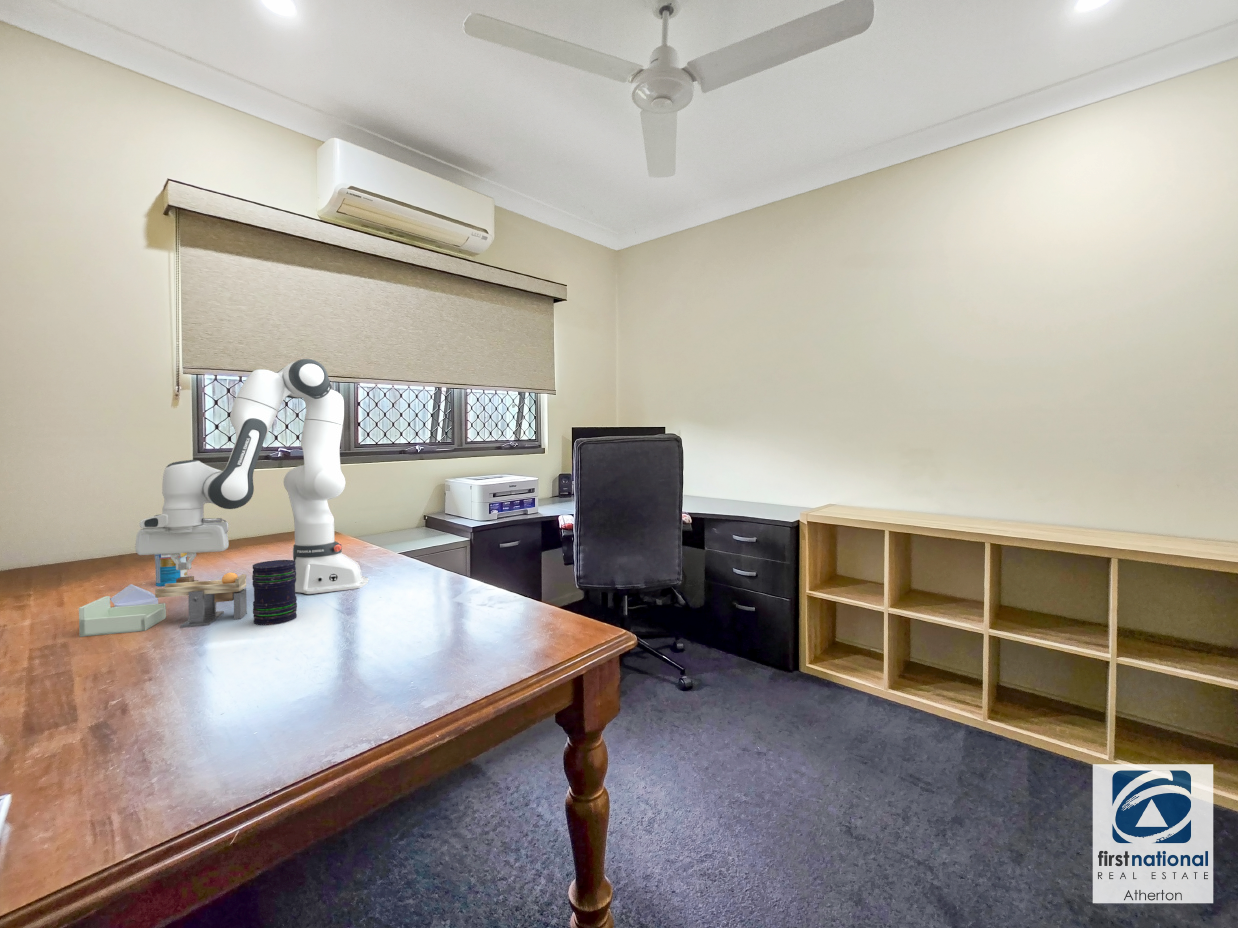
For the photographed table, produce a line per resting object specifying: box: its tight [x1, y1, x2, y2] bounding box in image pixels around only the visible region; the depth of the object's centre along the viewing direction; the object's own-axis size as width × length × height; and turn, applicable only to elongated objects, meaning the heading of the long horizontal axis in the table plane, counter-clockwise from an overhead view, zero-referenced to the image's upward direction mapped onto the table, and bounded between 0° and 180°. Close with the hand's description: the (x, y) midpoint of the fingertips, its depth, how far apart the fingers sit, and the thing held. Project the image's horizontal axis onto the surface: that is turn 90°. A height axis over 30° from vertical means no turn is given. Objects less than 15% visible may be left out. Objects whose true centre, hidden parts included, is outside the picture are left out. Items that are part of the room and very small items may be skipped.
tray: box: [78, 595, 167, 638], centre depth 137 cm, size 13×11×7 cm
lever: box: [154, 573, 247, 603], centre depth 146 cm, size 18×15×6 cm
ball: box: [221, 572, 239, 584], centre depth 144 cm, size 4×4×4 cm
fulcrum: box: [179, 587, 248, 629], centre depth 143 cm, size 12×11×9 cm
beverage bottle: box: [154, 553, 188, 587], centre depth 178 cm, size 8×8×20 cm
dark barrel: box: [251, 559, 298, 626], centre depth 142 cm, size 10×10×15 cm
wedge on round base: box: [110, 583, 159, 607], centre depth 150 cm, size 9×7×13 cm
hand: (183, 569), depth 148 cm, fingers closed
